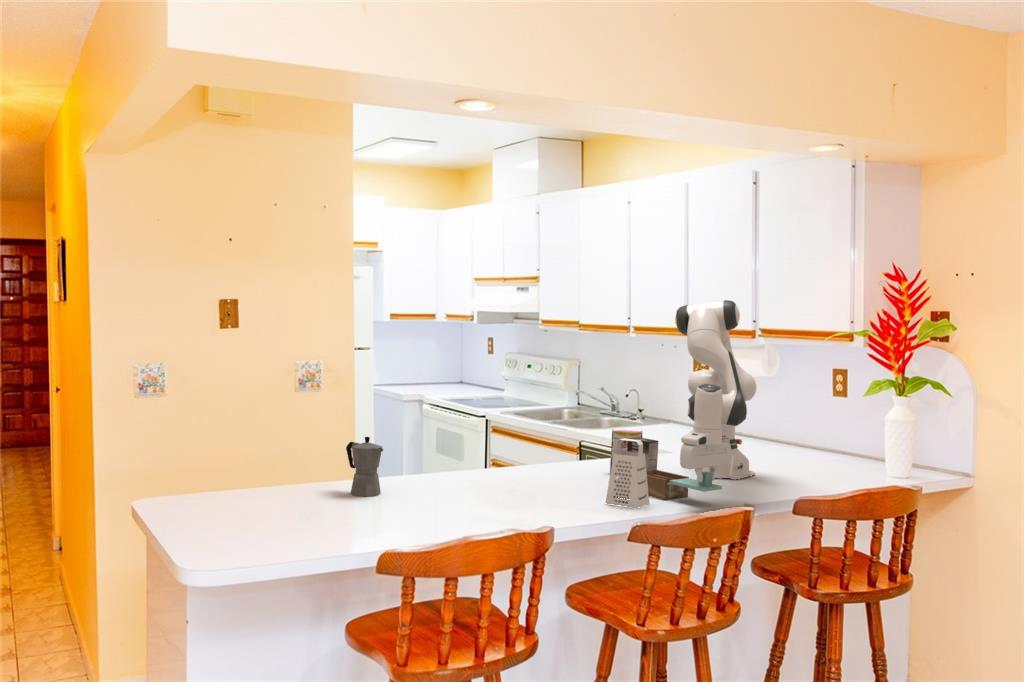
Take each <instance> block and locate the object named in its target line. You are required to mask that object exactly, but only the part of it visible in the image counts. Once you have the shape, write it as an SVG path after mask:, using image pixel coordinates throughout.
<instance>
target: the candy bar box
mask: <svg viewBox="0 0 1024 682" xmlns="http://www.w3.org/2000/svg"><path fill="white" fill-rule="evenodd" d="M636 437H640V438H643V431H642V430H636V429H635V430H634V429H621V428H619V429H618V428H617V429H616V428H612V429H611V441H610V443H611V444H610V445H611V447H610V461H609V462H610V463H609V465H610V466H609V474H610V473H611V467H612V461H613V456H614V454H615V453H616V444H617V442H618V441H619V440H620V439H624V438H625V439H629V438H636ZM627 447H628V441H627V440H622V441H621V451H627ZM619 466H620V465H619ZM616 467H618V466H616Z"/></svg>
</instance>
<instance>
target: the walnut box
mask: <svg viewBox="0 0 1024 682" xmlns="http://www.w3.org/2000/svg"><path fill="white" fill-rule="evenodd" d="M646 472H647V483H648V495H649V497H650V496H652V497H651V498H654V497H656V498H655V499H658V498H659V500H663V501H667V500H675V499H676V500H677V499H681V498H688V497H689V488H686V487H682V486H678V485H673V484H669V480H677V479H685V478H689V479H690V477H689V476H686V475H682V474H678V473H674V472H668V471H663V470H659V469H657V470H656V469H649V470H646Z"/></svg>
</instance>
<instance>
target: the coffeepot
mask: <svg viewBox="0 0 1024 682" xmlns="http://www.w3.org/2000/svg"><path fill="white" fill-rule="evenodd" d="M370 439H371V437H370V436H365V437H364V442H362V443H361V442H355V441H350V442H348V443H347V445H346V447H345V451H346V454H347V458H348V463H349V467H350V468H352V469H355V473H354V474H353V480H352V485H351V489H350V494H351V495H352V496H354V497H359V498H361V497H362V498H371V497H377V496H379V495H380V494H381V487H380V486H381V485H380V479H379V474H378V468H379V467H380V461H381V457H382V456H381V455H382V452H383V451H384V448H383V445H382V446H381V445H380V444H376V443H373V442H370Z"/></svg>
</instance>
